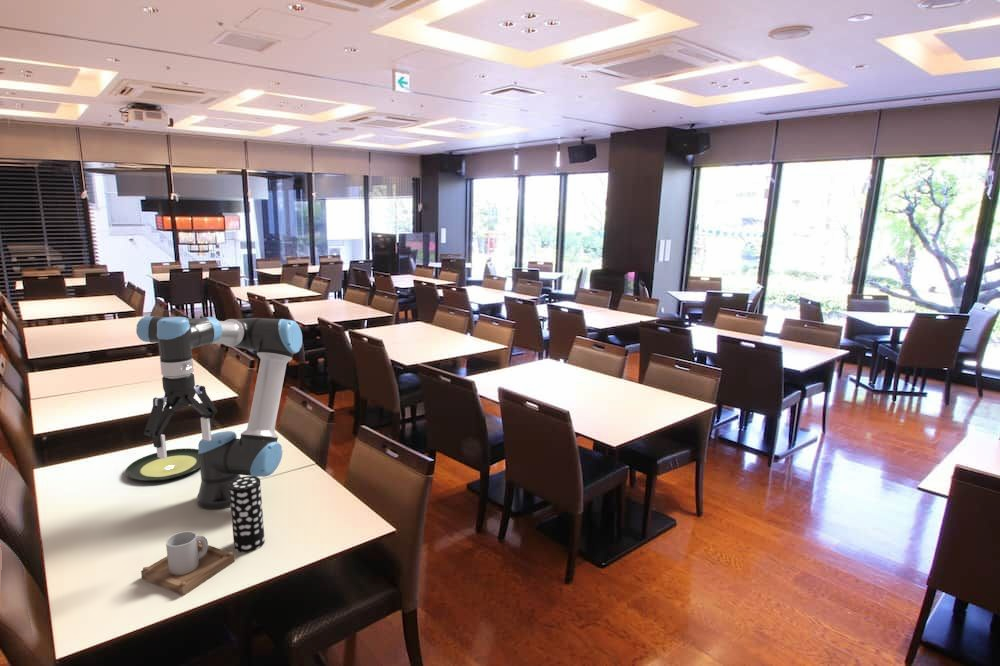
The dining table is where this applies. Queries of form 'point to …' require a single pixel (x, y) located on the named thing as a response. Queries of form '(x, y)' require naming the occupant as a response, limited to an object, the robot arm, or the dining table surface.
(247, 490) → the white-spotted black cylinder
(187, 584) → the wooden tray
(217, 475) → the robot arm
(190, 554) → the cup
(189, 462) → the plate
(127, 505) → the dining table surface
